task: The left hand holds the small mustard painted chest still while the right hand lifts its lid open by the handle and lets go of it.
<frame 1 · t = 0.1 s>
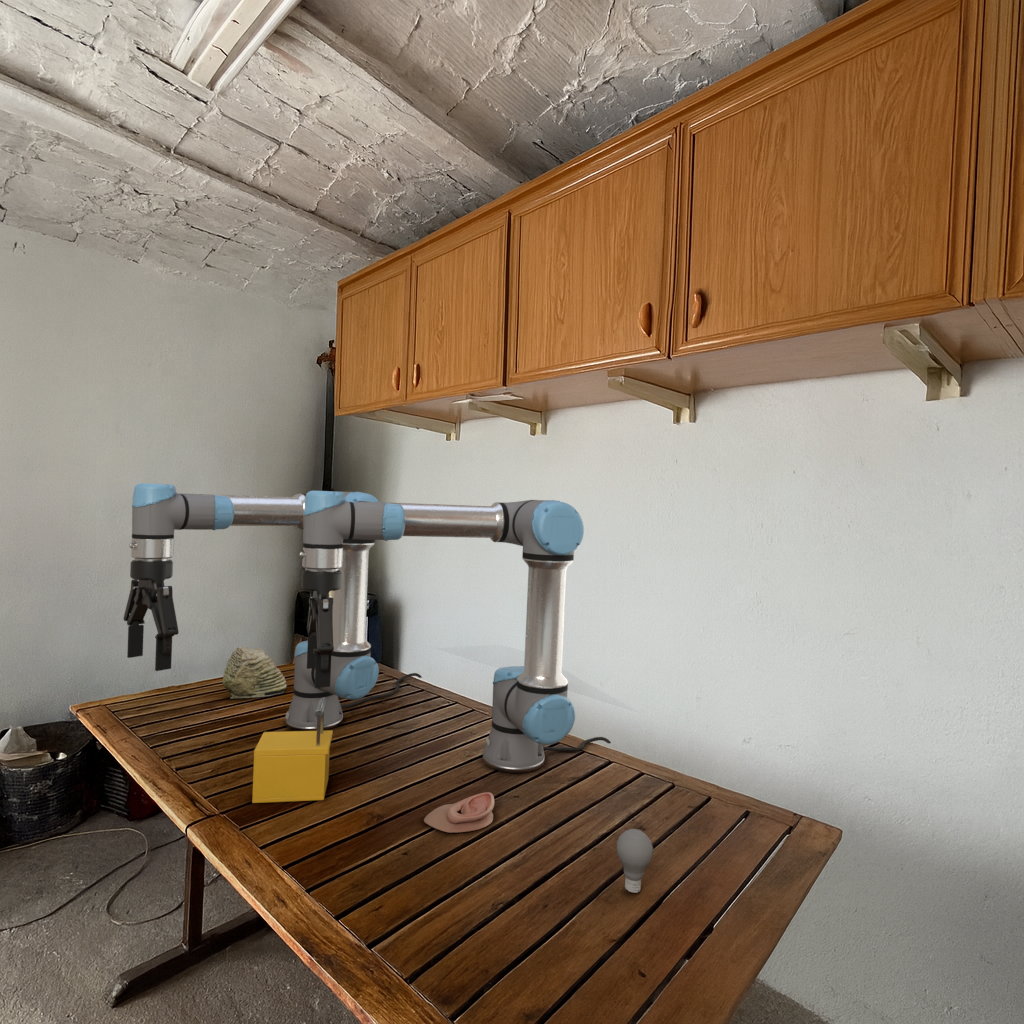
left hand: (148, 663, 129), 28 cm above the table, tool pointing down, fingers open, 13 cm apart
right hand: (317, 677, 125), 28 cm above the table, tool pointing down, fingers open, 13 cm apart
chest: (292, 790, 136), on the table
lid: (295, 725, 136), point 14 cm above the table, hinge at 0.0°
light bulb: (632, 891, 106), on the table
anatomical model: (459, 819, 127), on the table
fossil: (254, 694, 198), on the table
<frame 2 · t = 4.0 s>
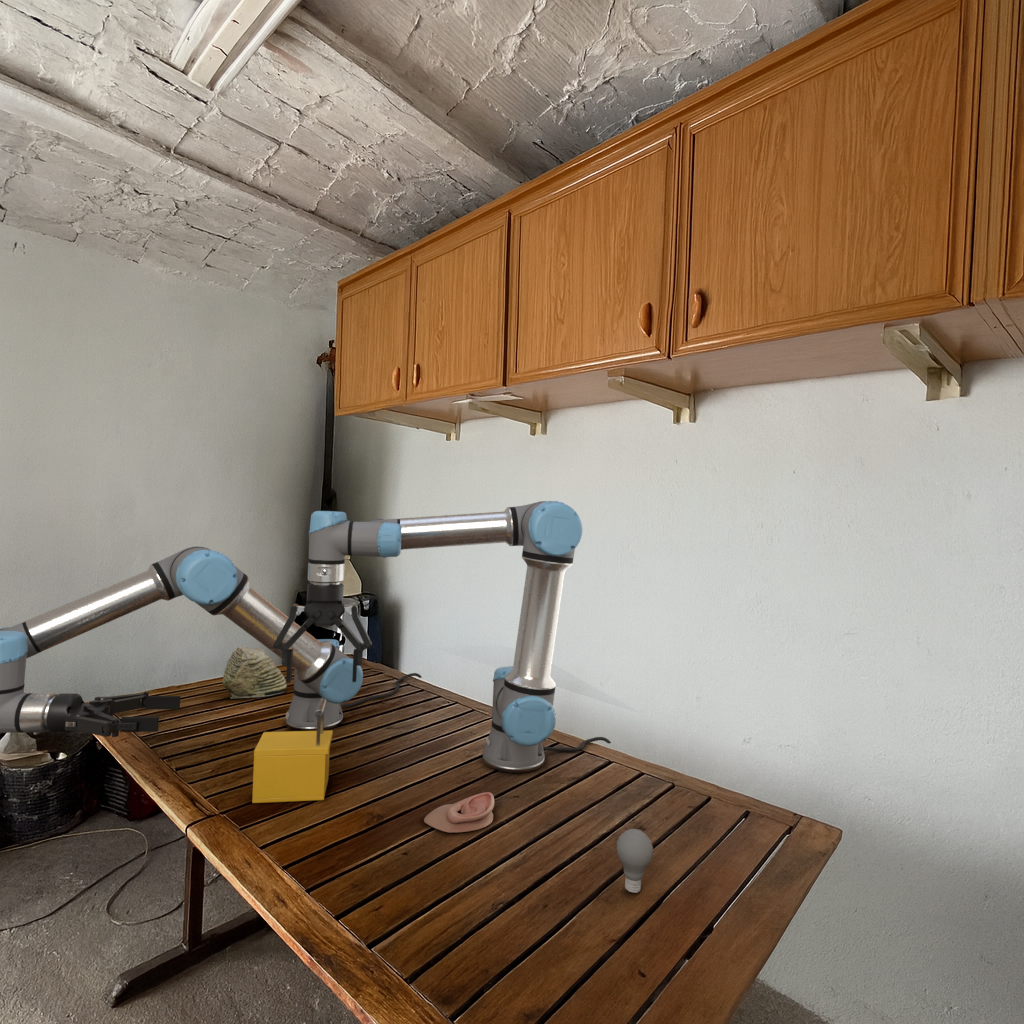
left hand: (169, 712, 131), 17 cm above the table, tool horizontal, fingers open, 13 cm apart
right hand: (322, 680, 137), 24 cm above the table, tool pointing down, fingers open, 13 cm apart
nothing on the table moved.
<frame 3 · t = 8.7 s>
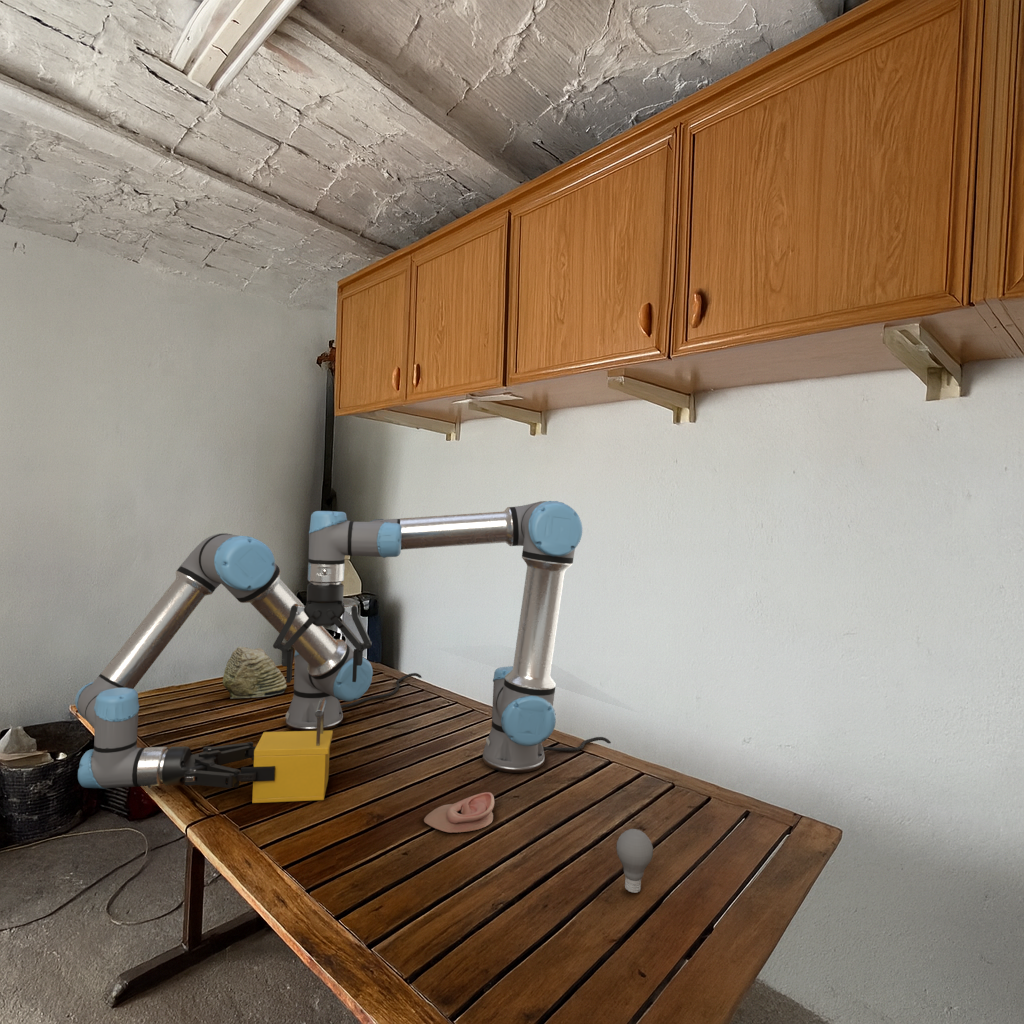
left hand: (279, 762, 135), 6 cm above the table, tool horizontal, fingers closed on chest, 10 cm apart
right hand: (322, 680, 137), 24 cm above the table, tool pointing down, fingers open, 13 cm apart
chest: (292, 790, 136), on the table, touching left hand
everything else where it was.
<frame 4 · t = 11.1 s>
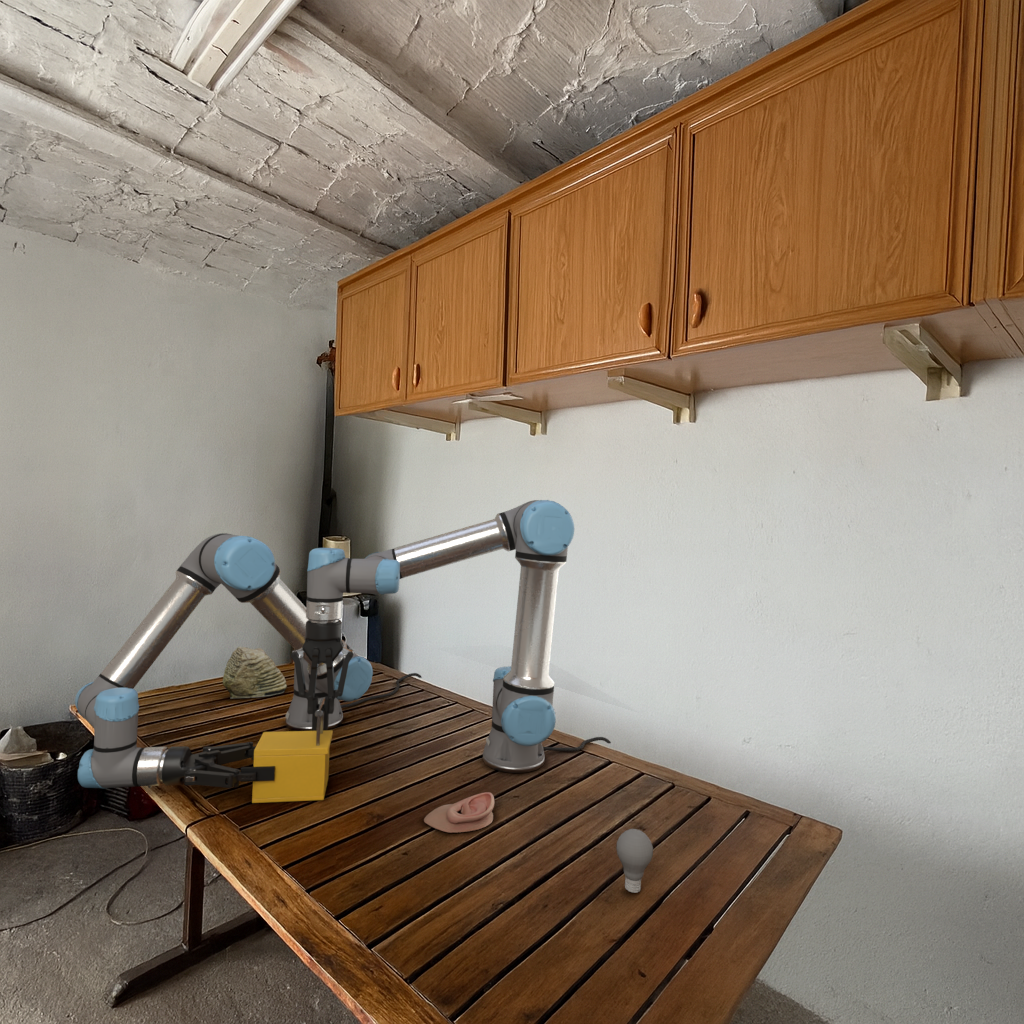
left hand: (279, 762, 135), 6 cm above the table, tool horizontal, fingers closed on chest, 10 cm apart
right hand: (320, 728, 137), 13 cm above the table, tool pointing down, fingers closed on lid, 2 cm apart
chest: (291, 790, 136), on the table, touching left hand
lid: (295, 725, 136), point 14 cm above the table, hinge at 0.0°, touching right hand
everything else where it was.
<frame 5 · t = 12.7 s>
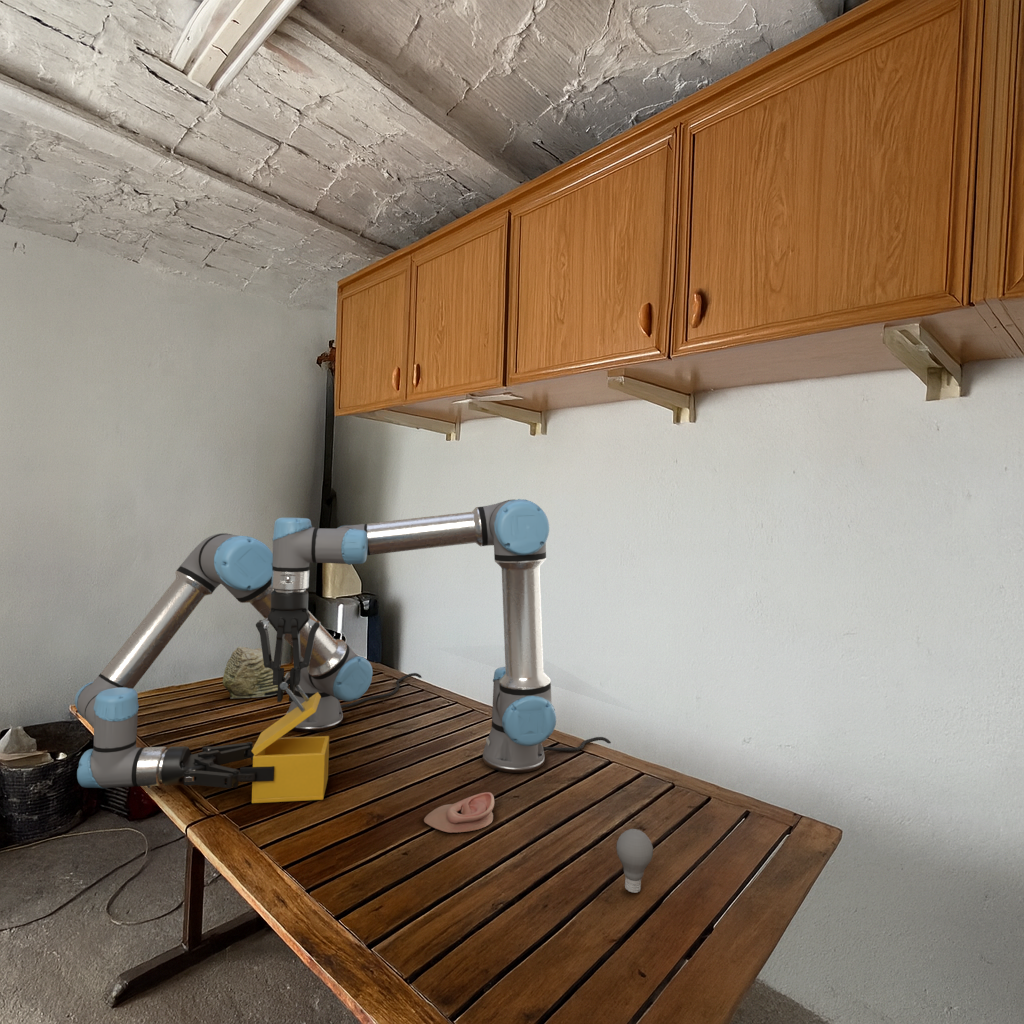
left hand: (278, 762, 135), 6 cm above the table, tool horizontal, fingers closed on chest, 10 cm apart
right hand: (285, 699, 135), 20 cm above the table, tool pointing down, fingers closed on lid, 2 cm apart
chest: (291, 790, 136), on the table, touching left hand
lid: (276, 708, 135), point 18 cm above the table, hinge at 36.9°, touching right hand
everything else where it was.
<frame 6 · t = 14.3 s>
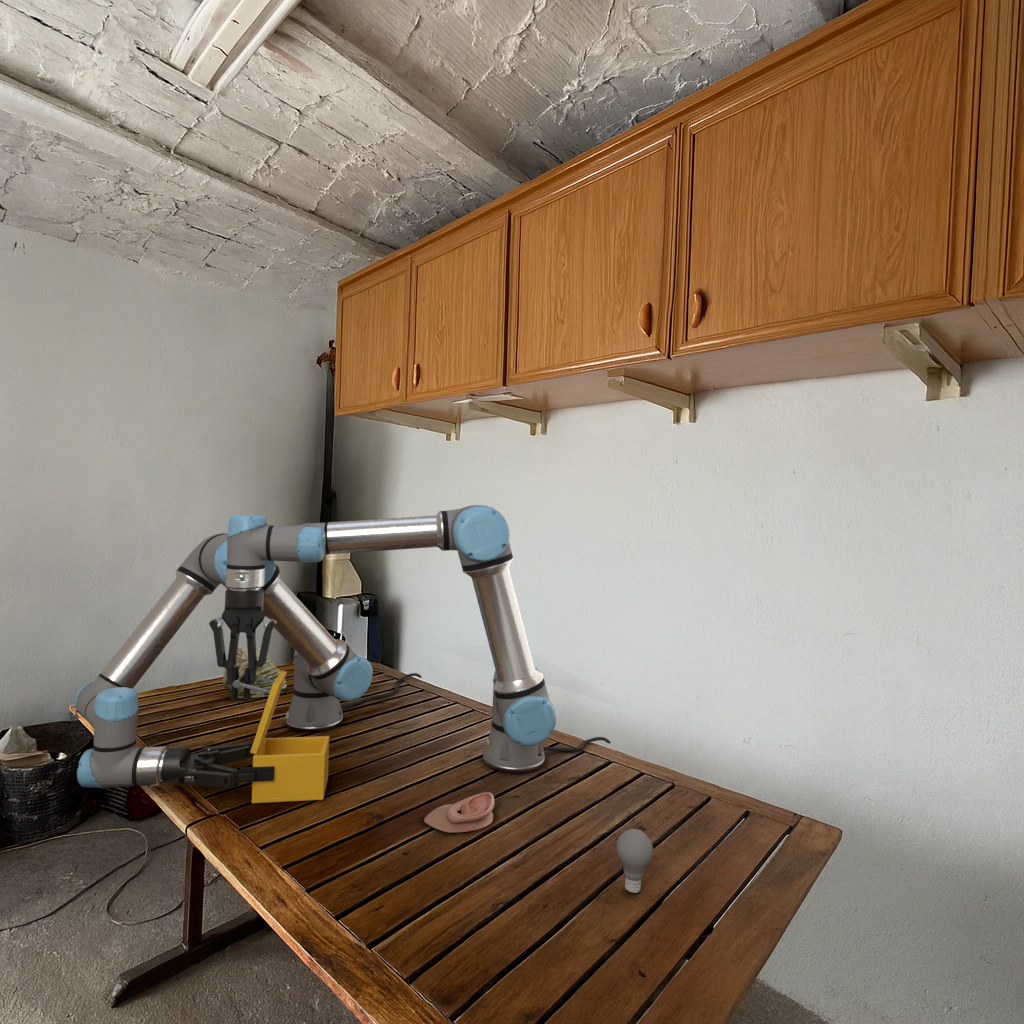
left hand: (278, 762, 135), 6 cm above the table, tool horizontal, fingers closed on chest, 10 cm apart
right hand: (240, 699, 134), 20 cm above the table, tool pointing down, fingers closed
chest: (291, 790, 136), on the table, touching left hand
lid: (251, 706, 134), point 18 cm above the table, hinge at 74.0°
everything else where it was.
when the left hand's fingers open (6 cm above the table, at t = 18.9 s): chest stays where it is, on the table.
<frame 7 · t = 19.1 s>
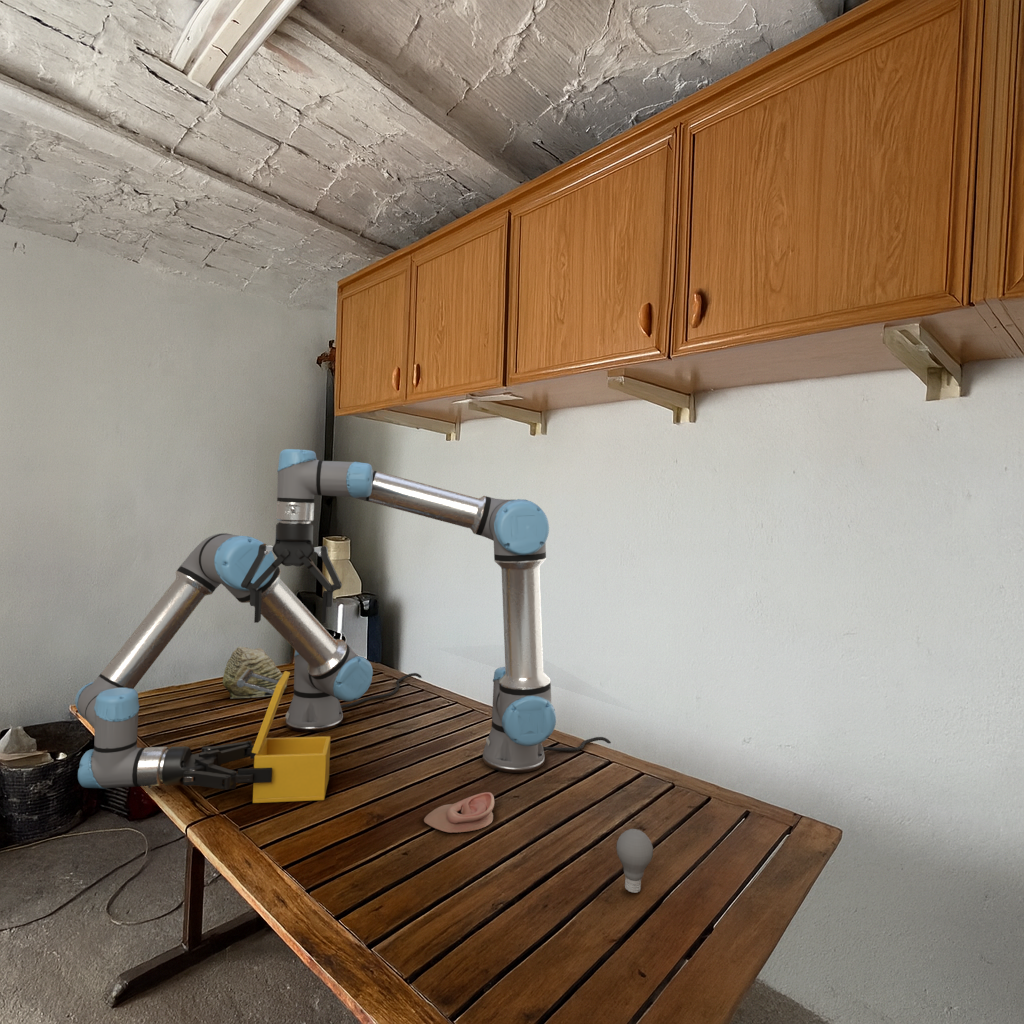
left hand: (277, 762, 135), 6 cm above the table, tool horizontal, fingers open, 12 cm apart
right hand: (291, 621, 135), 36 cm above the table, tool pointing down, fingers open, 13 cm apart
chest: (292, 790, 136), on the table
lid: (253, 705, 134), point 18 cm above the table, hinge at 72.4°
everything else where it was.
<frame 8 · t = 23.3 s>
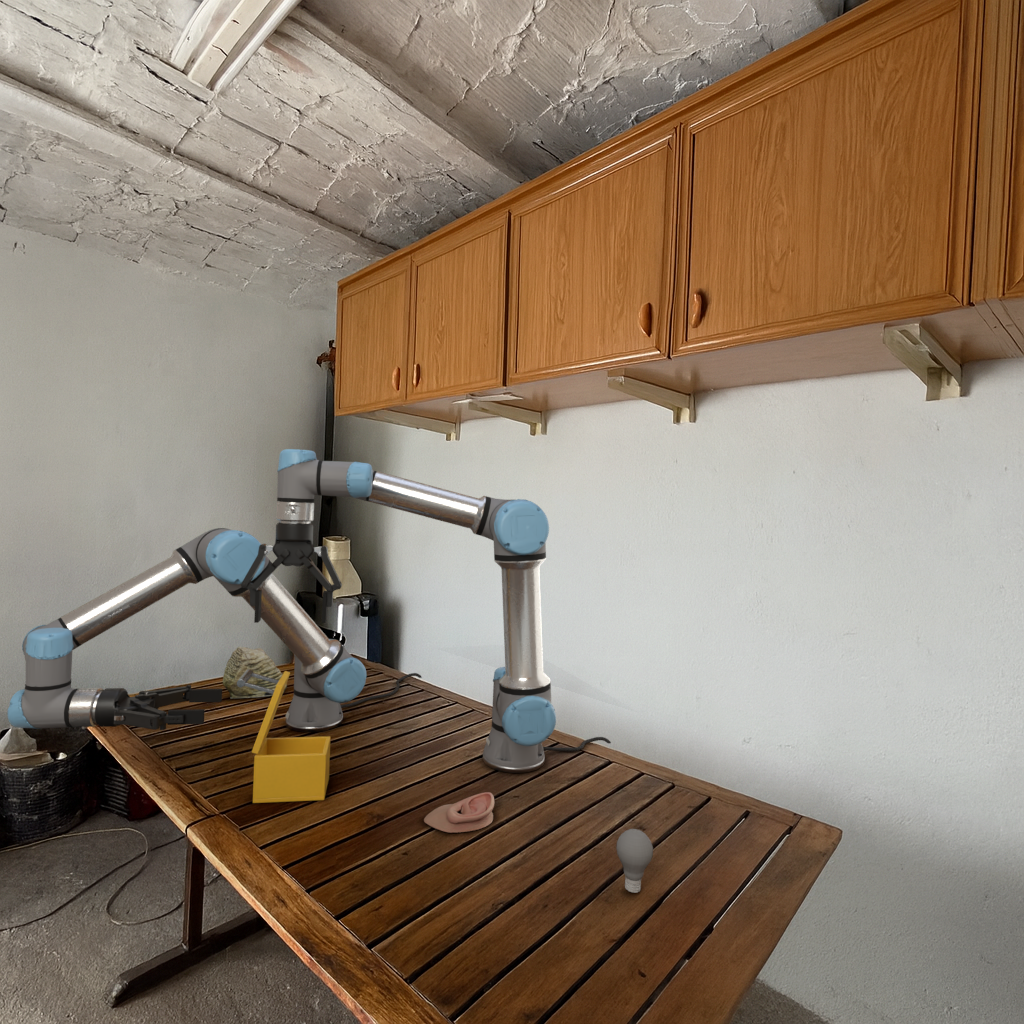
left hand: (213, 705, 133), 19 cm above the table, tool horizontal, fingers open, 13 cm apart
right hand: (291, 621, 135), 36 cm above the table, tool pointing down, fingers open, 13 cm apart
nothing on the table moved.
at the end: lid at +72° (first picture: +0°); the left hand is holding nothing; the right hand is holding nothing; chest tilted 0°; chest never tilted more than 1° during the clip; chest moved 0.1 cm from its start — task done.
